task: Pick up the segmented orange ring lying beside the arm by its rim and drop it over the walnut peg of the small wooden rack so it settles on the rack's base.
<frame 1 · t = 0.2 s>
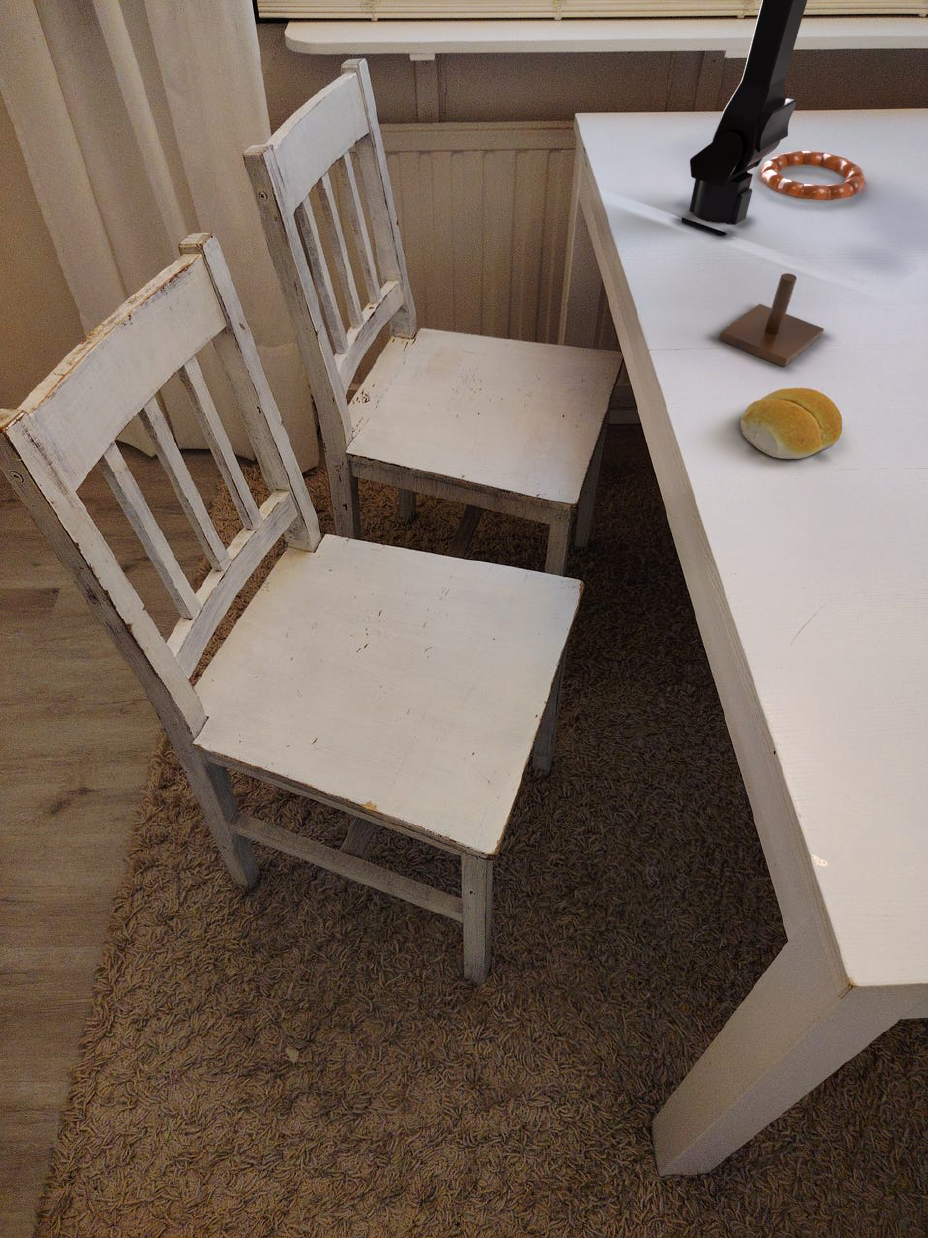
segmented orange ring: (811, 177, 111), point 1 cm above the table
rack: (770, 338, 87), on the table
bread roll: (786, 436, 77), on the table
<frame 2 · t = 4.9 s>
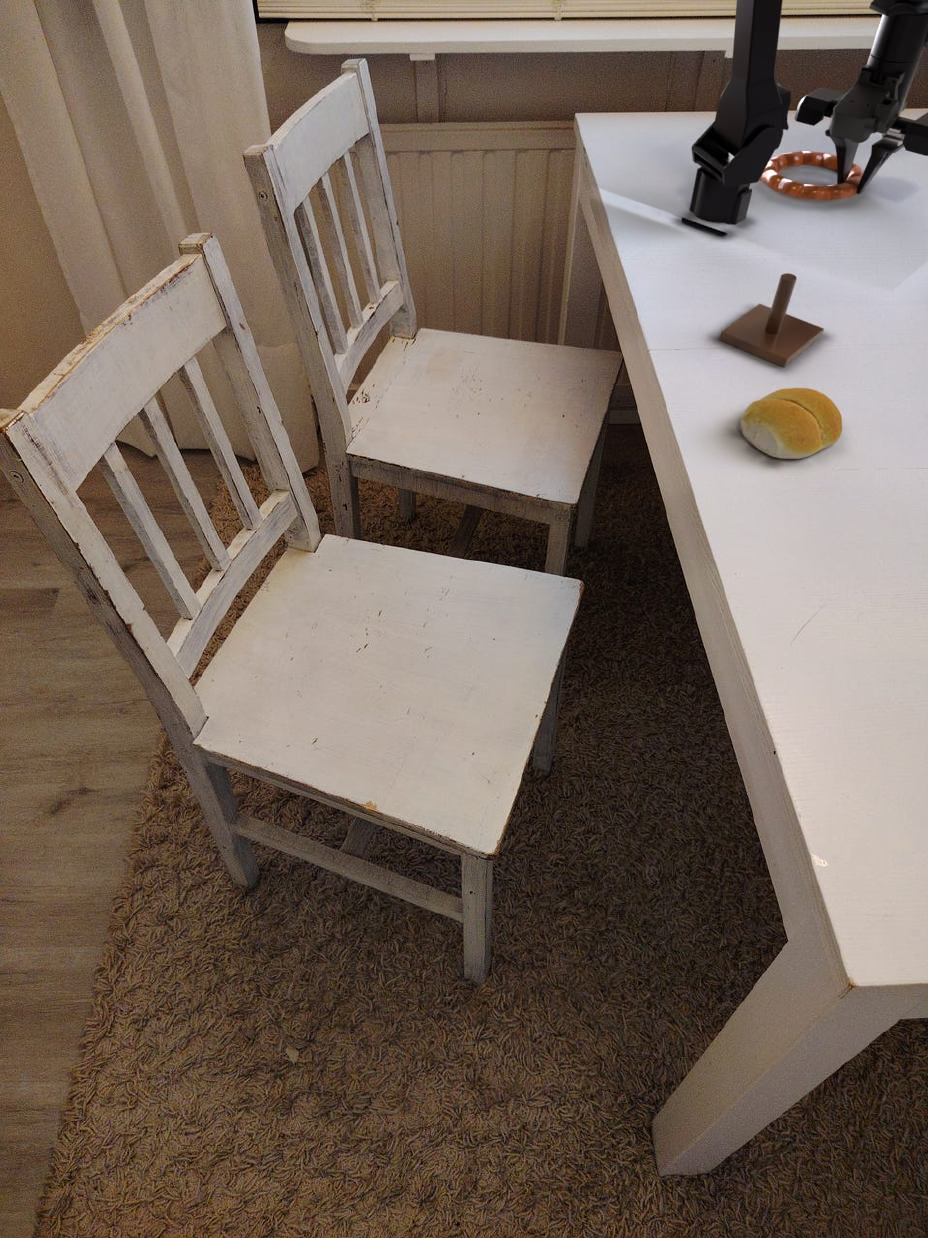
hand: (849, 190, 108), 1 cm above the table, tool pointing down, fingers closed on segmented orange ring, 2 cm apart
segmented orange ring: (811, 177, 111), point 1 cm above the table, touching gripper
everything else where it was.
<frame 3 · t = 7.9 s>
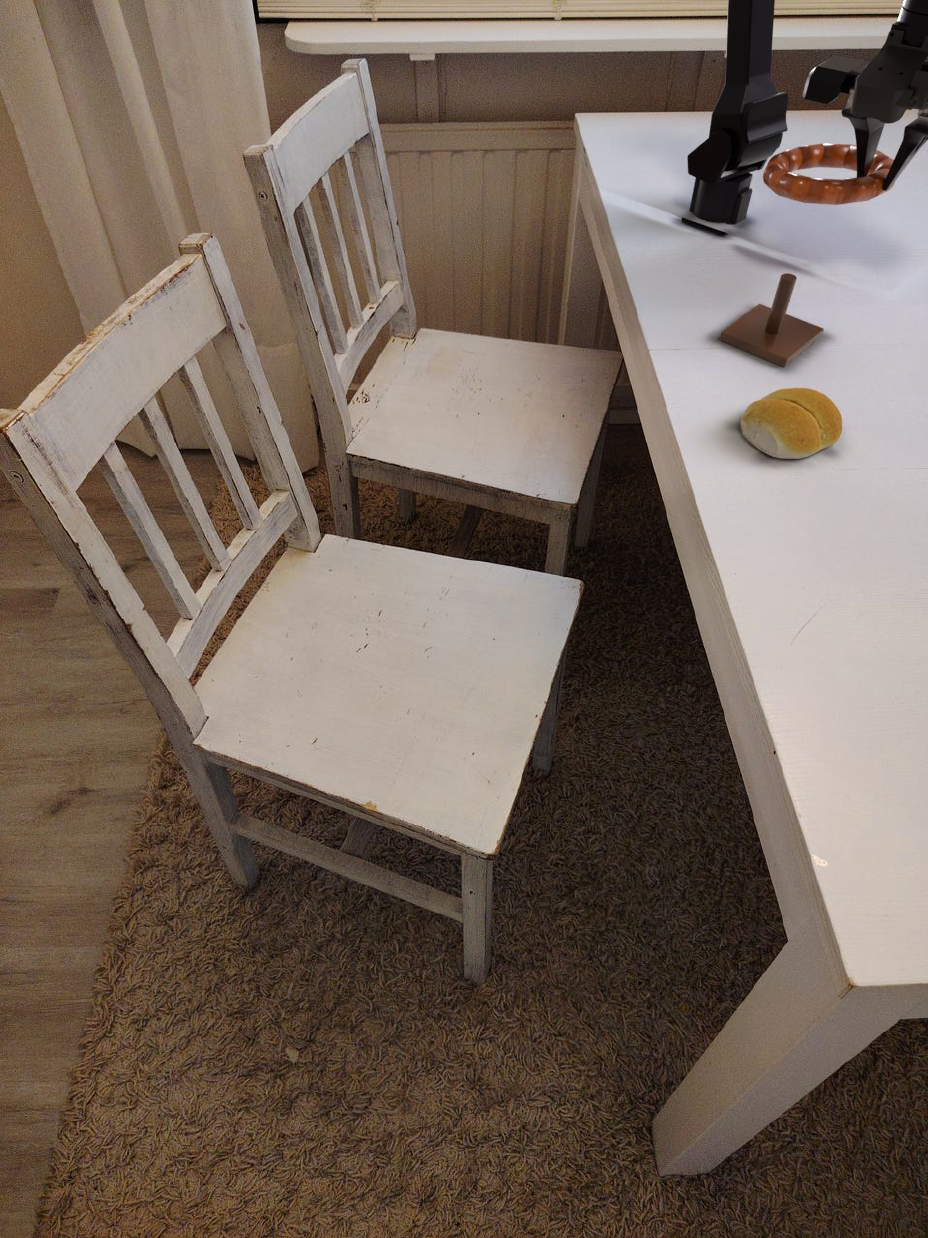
hand: (872, 186, 85), 11 cm above the table, tool pointing down, fingers closed on segmented orange ring, 2 cm apart
segmented orange ring: (829, 172, 89), point 11 cm above the table, tilted 5°, touching gripper
everything else where it was.
when the fingers open (4 cm above the table, at t = 10.9 s): segmented orange ring moves 1 cm, resting on rack.
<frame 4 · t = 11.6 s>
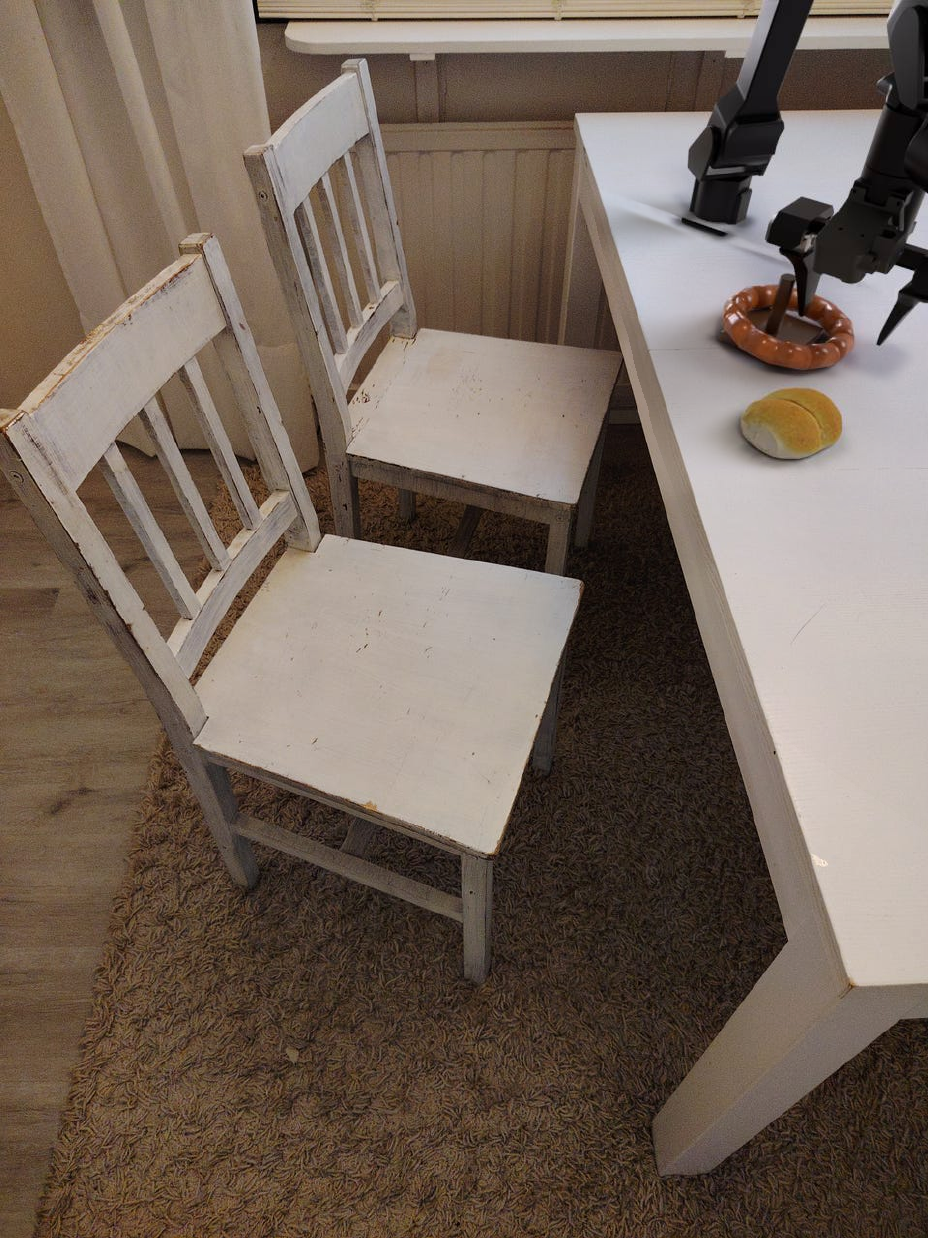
hand: (840, 329, 81), 4 cm above the table, tool pointing down, fingers open, 8 cm apart
segmented orange ring: (787, 325, 85), point 2 cm above the table, tilted 6°, touching rack
everything else where it was.
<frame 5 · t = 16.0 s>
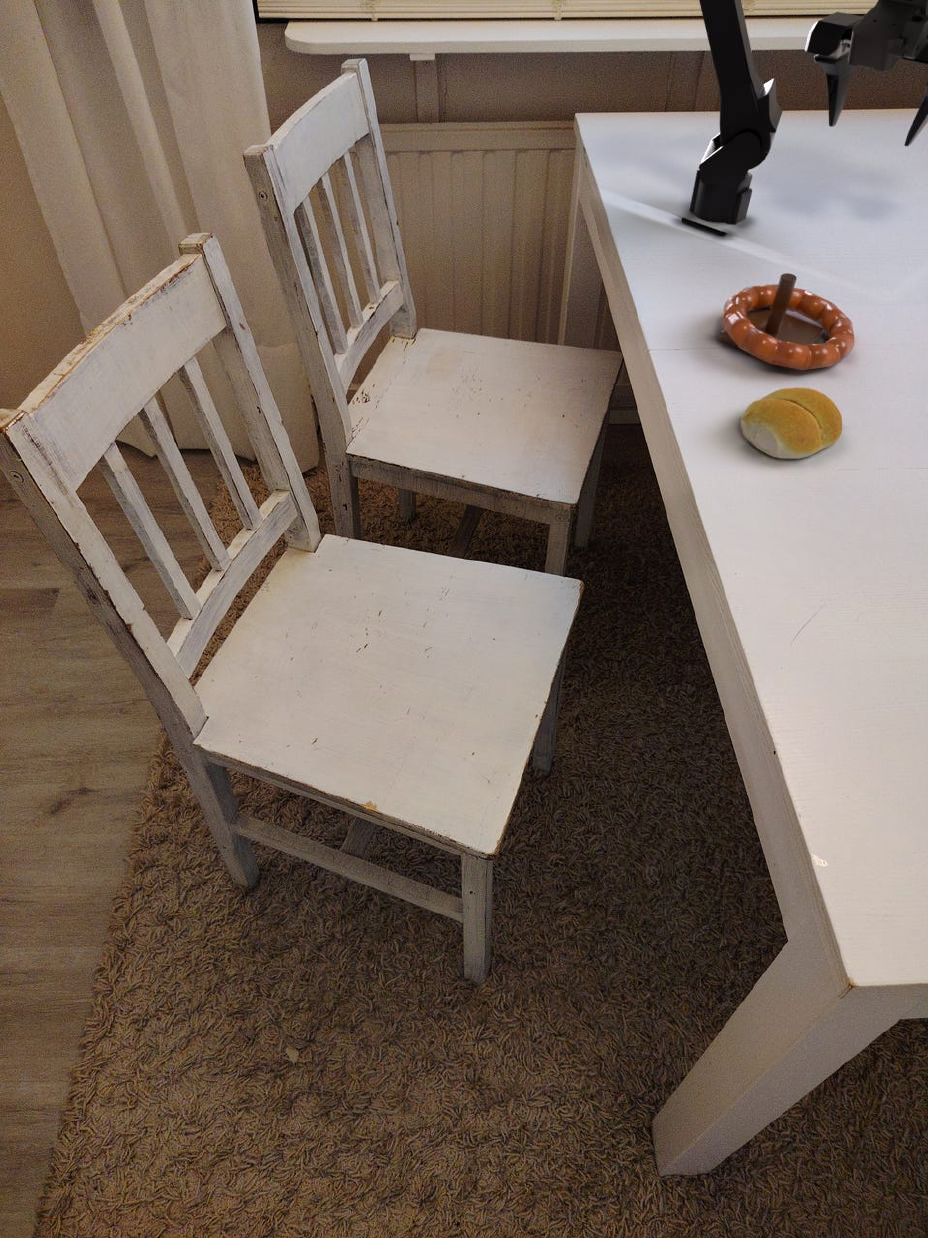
hand: (869, 135, 92), 12 cm above the table, tool pointing down, fingers open, 9 cm apart
nothing on the table moved.
at the end: segmented orange ring inside the target area on the rack (1.4 cm from its centre), point 2.0 cm above the rack's base; the gripper is holding nothing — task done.
